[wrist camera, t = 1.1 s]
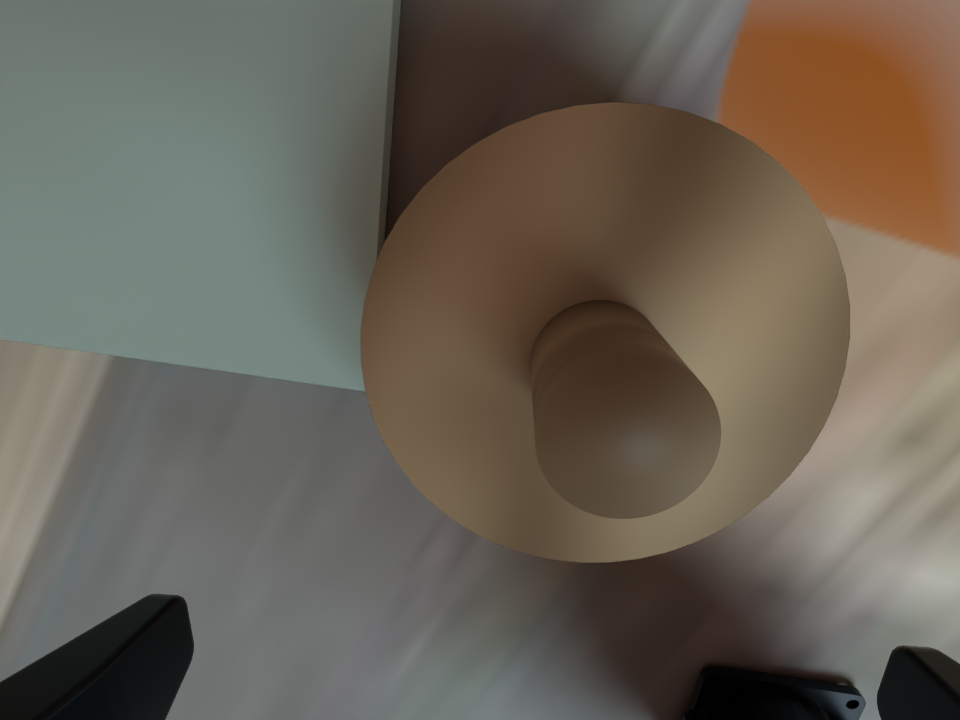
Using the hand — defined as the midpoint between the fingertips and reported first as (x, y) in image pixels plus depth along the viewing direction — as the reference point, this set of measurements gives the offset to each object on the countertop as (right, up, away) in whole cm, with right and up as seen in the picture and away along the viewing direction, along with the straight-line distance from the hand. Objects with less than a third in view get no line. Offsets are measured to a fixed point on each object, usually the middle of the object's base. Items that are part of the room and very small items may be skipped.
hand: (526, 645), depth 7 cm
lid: (+2, +4, +7) cm, 8 cm away
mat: (-10, +10, +11) cm, 18 cm away
